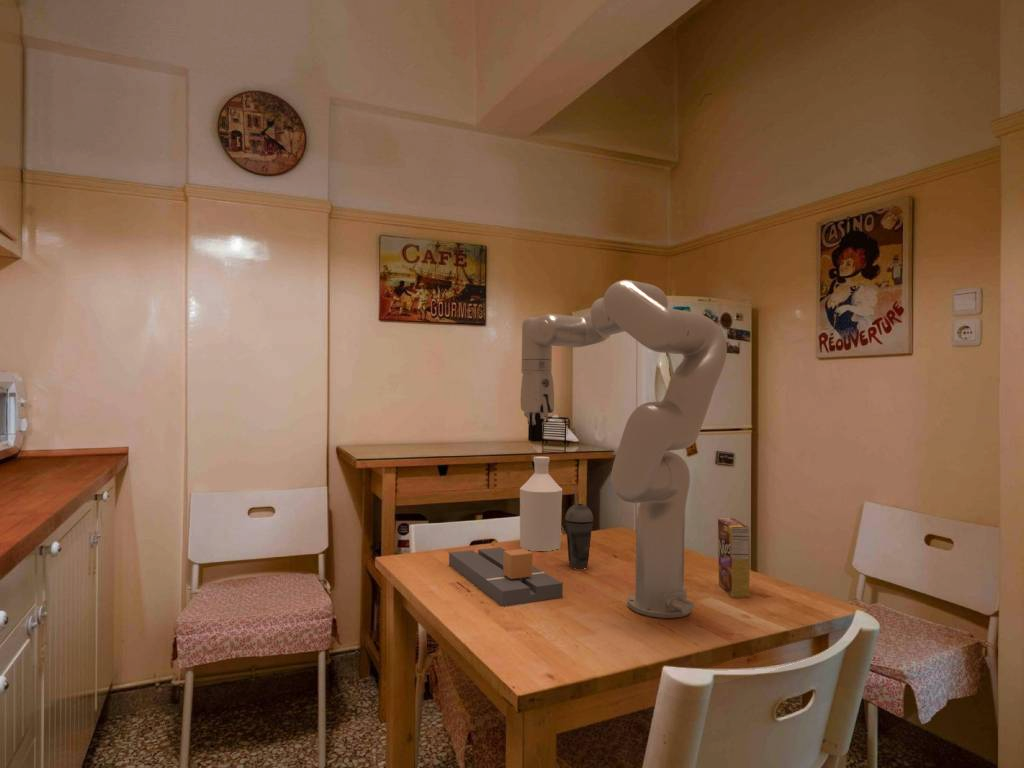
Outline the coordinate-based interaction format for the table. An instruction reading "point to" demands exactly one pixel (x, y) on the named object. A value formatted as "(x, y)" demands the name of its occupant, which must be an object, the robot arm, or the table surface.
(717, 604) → the table surface
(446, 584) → the table surface
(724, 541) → the candy box
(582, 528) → the beverage cup
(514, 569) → the slider tab
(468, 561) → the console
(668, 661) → the table surface
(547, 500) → the bottle
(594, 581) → the table surface
